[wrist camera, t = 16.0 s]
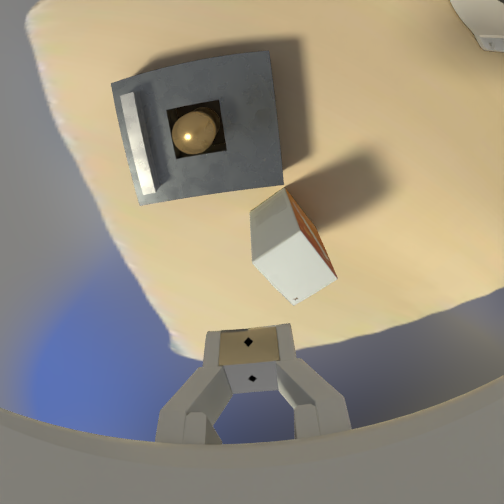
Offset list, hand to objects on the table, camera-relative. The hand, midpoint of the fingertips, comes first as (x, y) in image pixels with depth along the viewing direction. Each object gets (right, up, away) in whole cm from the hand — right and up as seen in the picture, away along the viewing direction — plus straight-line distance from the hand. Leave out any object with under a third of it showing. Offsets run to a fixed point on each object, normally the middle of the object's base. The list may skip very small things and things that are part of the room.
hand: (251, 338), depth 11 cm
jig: (-6, +19, +24) cm, 32 cm away
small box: (+5, +8, +32) cm, 33 cm away
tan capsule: (-6, +19, +24) cm, 32 cm away
